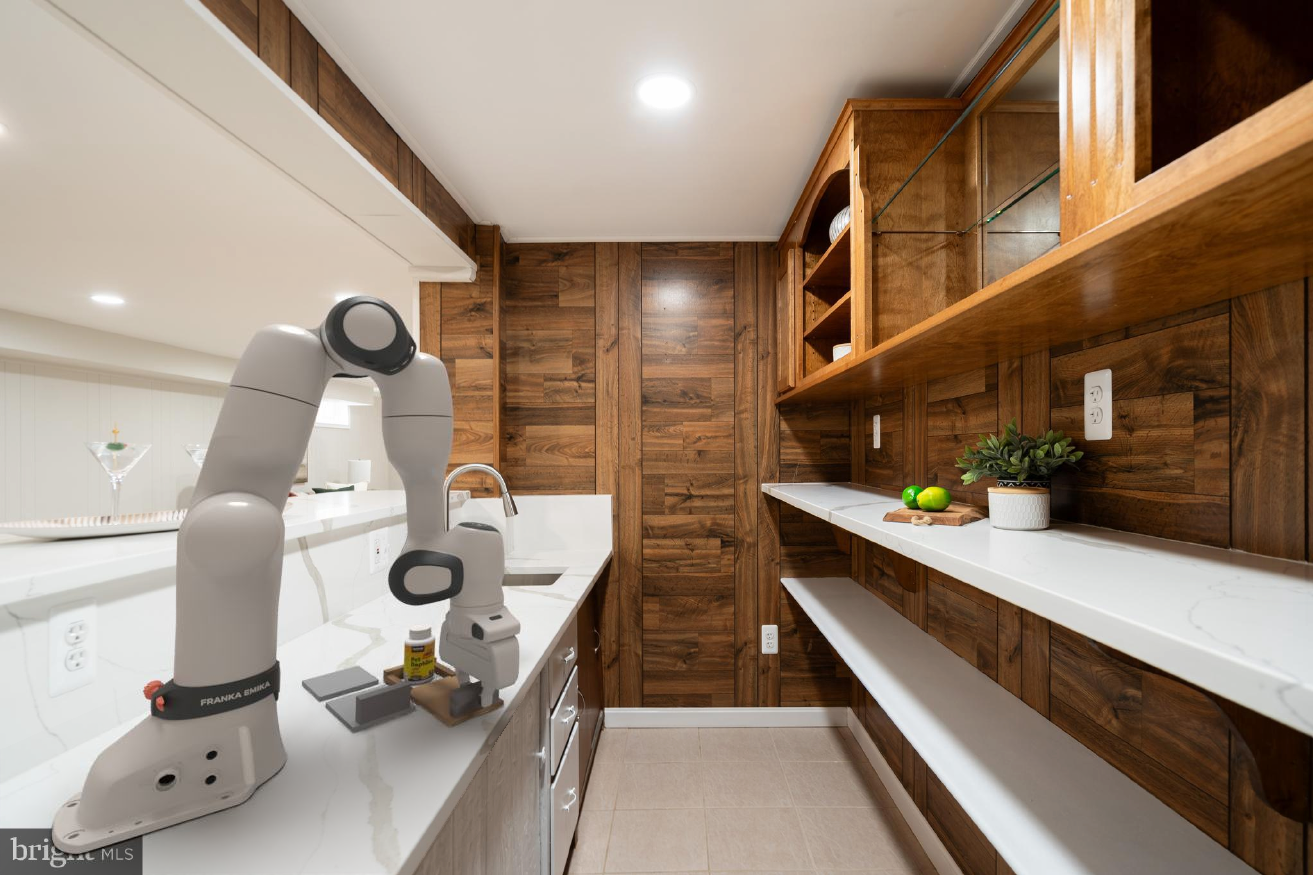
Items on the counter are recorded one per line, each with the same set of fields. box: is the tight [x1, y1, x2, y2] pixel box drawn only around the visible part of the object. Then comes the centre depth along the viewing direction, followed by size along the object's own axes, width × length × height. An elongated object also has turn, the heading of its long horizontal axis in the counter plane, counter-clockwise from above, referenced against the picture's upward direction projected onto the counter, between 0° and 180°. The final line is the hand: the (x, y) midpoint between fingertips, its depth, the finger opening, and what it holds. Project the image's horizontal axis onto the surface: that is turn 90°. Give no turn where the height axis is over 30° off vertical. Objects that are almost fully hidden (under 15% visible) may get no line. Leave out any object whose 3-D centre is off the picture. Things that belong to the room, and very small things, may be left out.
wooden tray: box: [382, 656, 505, 727], centre depth 98 cm, size 10×26×5 cm, turn 49°
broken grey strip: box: [301, 665, 417, 734], centre depth 96 cm, size 10×26×5 cm, turn 49°
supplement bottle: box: [402, 623, 436, 685], centre depth 104 cm, size 6×6×10 cm
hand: (475, 699), depth 90 cm, fingers open, 5 cm apart
